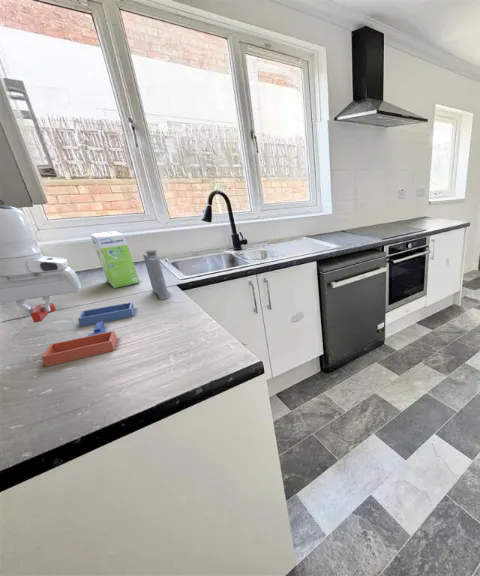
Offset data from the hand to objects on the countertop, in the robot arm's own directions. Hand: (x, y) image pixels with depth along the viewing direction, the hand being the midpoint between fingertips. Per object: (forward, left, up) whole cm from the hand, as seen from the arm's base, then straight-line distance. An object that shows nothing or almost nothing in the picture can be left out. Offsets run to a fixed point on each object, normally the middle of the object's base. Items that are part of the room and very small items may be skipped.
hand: (39, 312), depth 88 cm
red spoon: (0, +2, -2) cm, 2 cm away
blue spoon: (+10, +4, -12) cm, 16 cm away
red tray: (+8, -9, -12) cm, 17 cm away
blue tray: (+11, +18, -12) cm, 25 cm away
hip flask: (+27, +36, -12) cm, 47 cm away
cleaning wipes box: (+11, +70, -12) cm, 72 cm away
